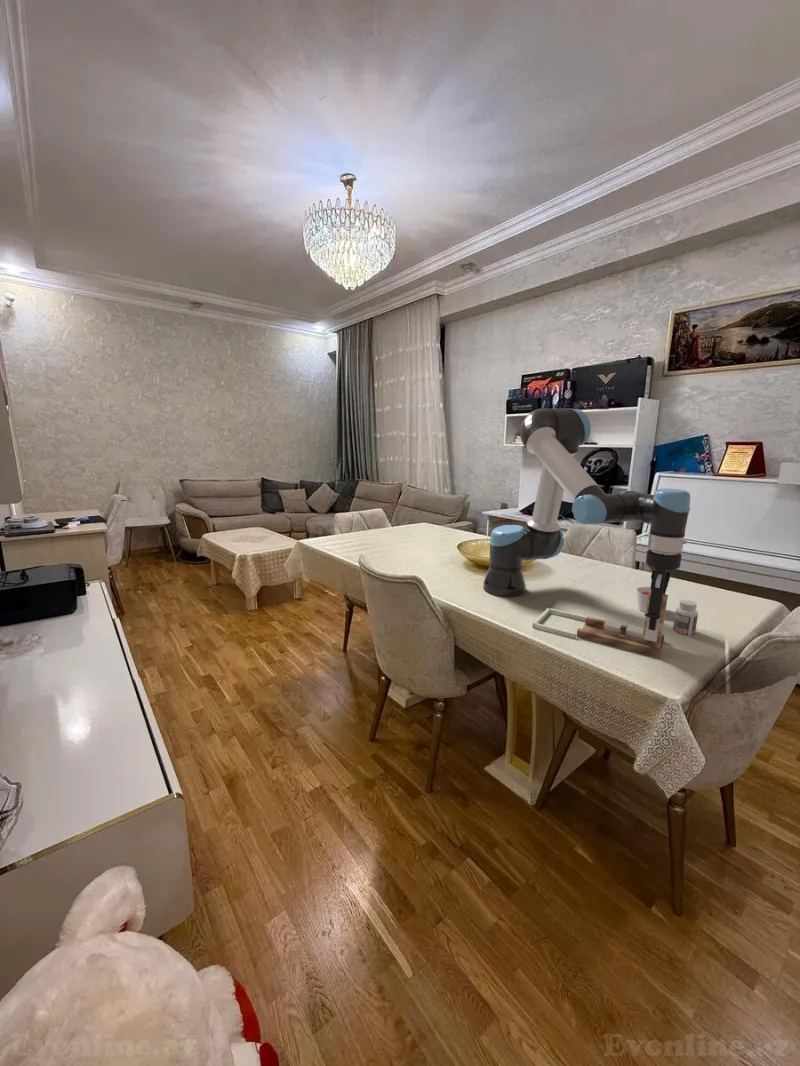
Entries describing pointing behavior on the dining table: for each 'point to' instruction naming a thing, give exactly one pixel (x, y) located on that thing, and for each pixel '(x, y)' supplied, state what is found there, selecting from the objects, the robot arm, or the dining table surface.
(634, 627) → the pinkish grey cube
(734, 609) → the dining table surface
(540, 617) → the tray
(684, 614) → the pill bottle
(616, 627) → the grey cube
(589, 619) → the slot board
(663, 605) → the tapered wooden board
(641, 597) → the white round cup
